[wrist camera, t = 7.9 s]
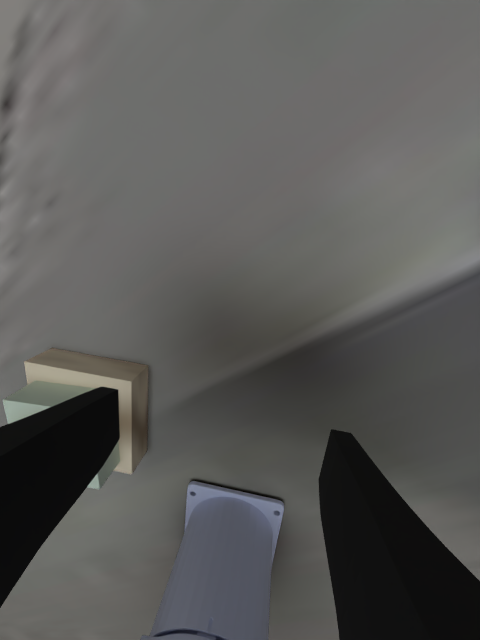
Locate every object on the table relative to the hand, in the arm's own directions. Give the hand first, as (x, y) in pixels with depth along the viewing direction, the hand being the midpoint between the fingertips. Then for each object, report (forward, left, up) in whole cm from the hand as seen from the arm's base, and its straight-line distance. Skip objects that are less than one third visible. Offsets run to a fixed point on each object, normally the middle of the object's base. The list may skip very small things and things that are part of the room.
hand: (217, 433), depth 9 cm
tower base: (-8, +12, -11) cm, 18 cm away
